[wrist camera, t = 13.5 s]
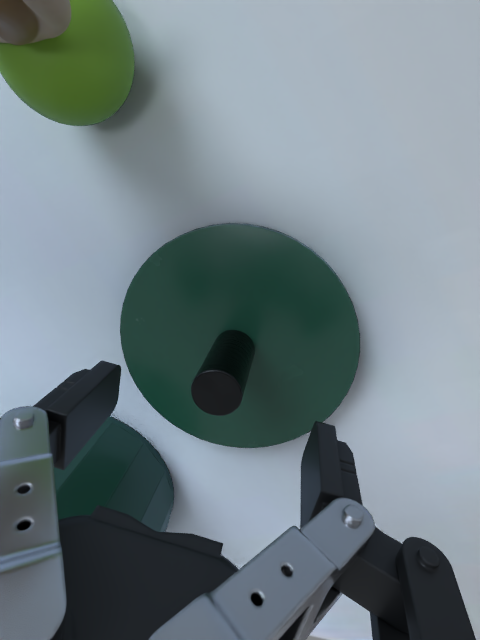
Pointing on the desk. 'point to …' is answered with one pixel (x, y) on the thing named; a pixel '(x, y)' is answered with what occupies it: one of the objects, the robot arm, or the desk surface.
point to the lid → (240, 335)
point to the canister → (117, 478)
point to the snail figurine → (67, 57)
